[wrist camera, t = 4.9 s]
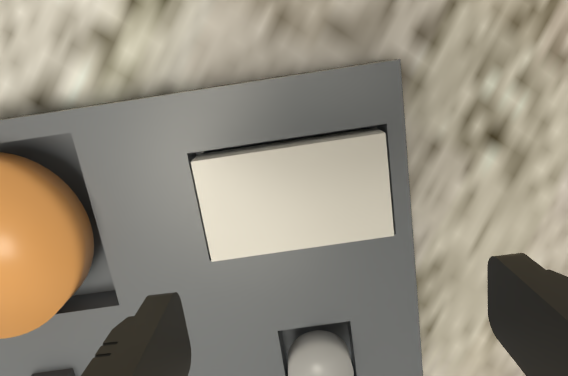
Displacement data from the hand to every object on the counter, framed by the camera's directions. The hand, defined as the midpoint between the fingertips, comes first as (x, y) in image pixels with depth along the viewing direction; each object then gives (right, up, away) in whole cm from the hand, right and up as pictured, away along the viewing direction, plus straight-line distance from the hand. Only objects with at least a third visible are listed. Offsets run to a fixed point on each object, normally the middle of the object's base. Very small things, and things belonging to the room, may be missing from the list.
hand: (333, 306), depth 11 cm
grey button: (+1, -7, +14) cm, 16 cm away
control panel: (-8, -2, +15) cm, 18 cm away
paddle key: (-1, +3, +12) cm, 13 cm away
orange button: (-16, +1, +12) cm, 20 cm away
